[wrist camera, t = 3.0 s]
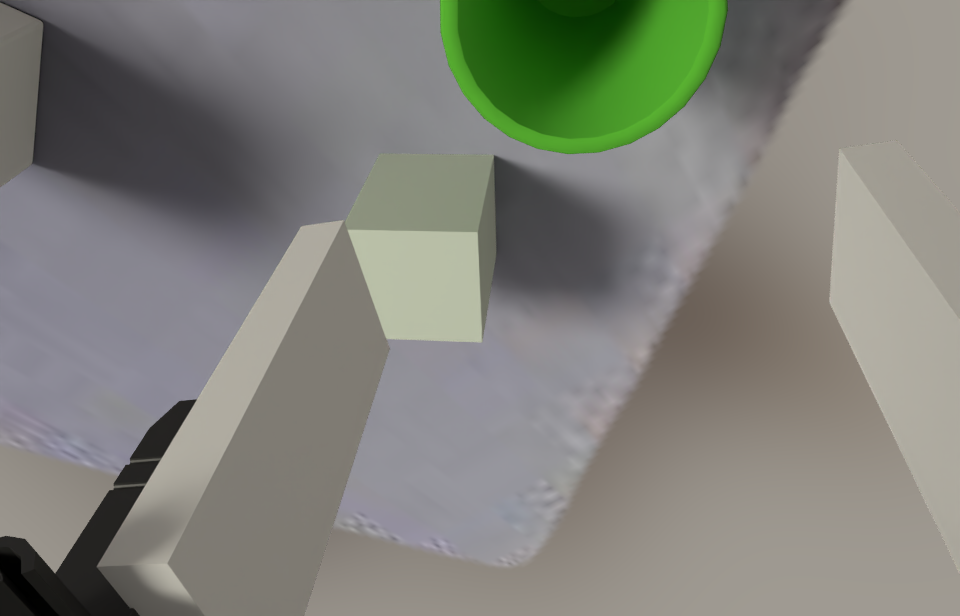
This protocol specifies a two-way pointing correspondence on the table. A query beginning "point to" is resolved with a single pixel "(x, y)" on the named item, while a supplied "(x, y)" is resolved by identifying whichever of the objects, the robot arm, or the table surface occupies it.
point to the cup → (580, 65)
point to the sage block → (428, 244)
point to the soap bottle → (18, 89)
